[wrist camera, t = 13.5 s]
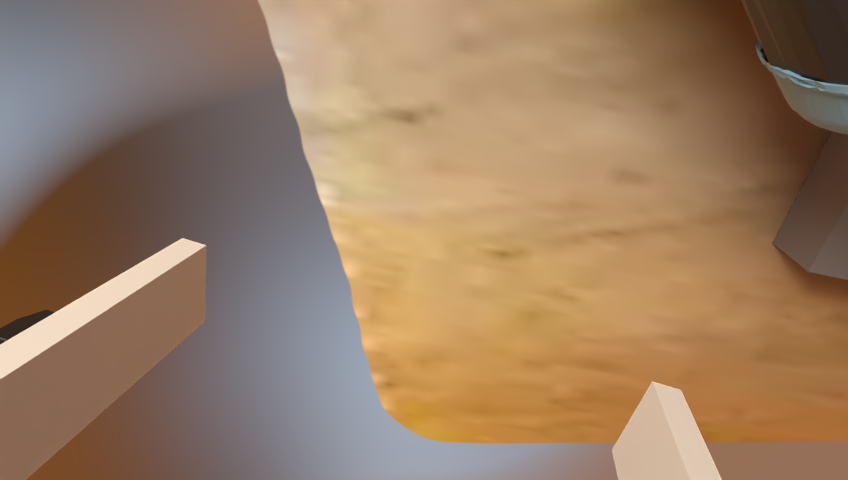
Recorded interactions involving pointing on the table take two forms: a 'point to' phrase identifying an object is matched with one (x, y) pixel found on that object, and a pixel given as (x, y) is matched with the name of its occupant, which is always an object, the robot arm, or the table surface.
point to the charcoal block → (821, 214)
